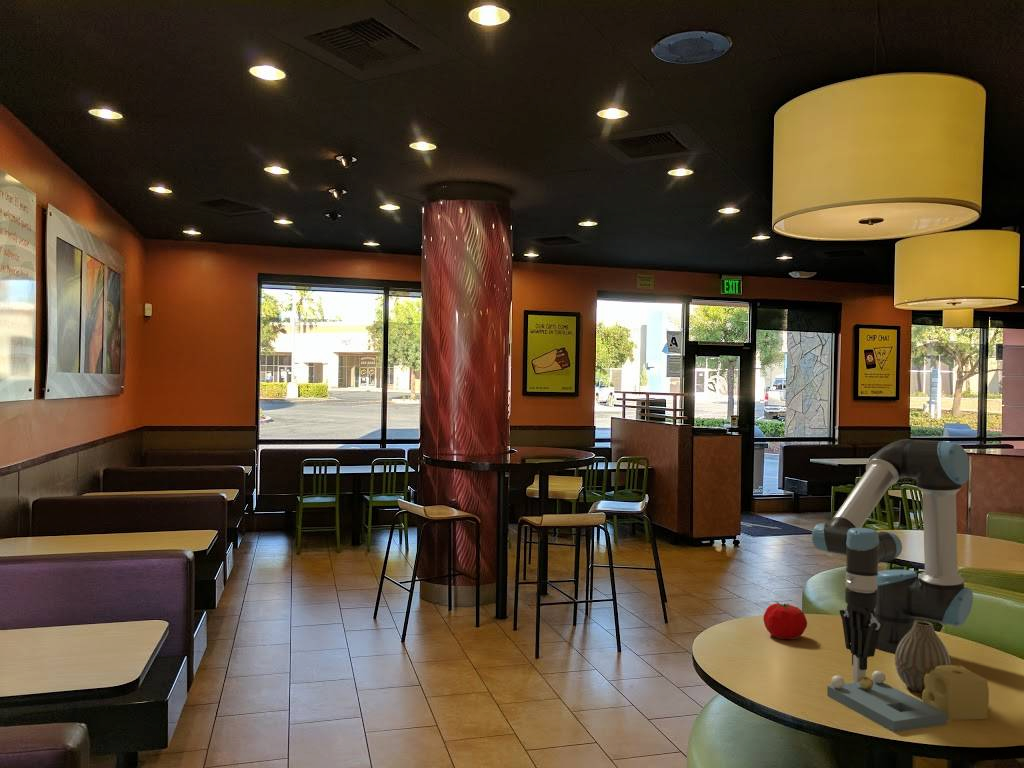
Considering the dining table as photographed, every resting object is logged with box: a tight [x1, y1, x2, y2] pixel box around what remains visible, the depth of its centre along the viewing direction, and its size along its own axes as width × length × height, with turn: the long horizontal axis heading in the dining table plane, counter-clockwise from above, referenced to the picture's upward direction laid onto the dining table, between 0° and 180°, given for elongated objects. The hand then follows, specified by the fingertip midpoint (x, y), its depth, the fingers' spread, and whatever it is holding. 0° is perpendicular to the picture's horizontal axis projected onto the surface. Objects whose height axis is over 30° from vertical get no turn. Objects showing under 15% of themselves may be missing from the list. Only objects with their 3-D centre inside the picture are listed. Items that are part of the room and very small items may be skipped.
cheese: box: [921, 664, 990, 721], centre depth 194 cm, size 10×11×10 cm
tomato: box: [762, 600, 808, 640], centre depth 250 cm, size 13×12×11 cm
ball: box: [860, 676, 873, 690], centre depth 201 cm, size 3×3×3 cm
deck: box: [826, 679, 948, 733], centre depth 195 cm, size 16×22×2 cm
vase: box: [894, 620, 952, 694], centre depth 209 cm, size 13×13×18 cm
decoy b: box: [830, 674, 846, 689], centre depth 202 cm, size 3×3×3 cm
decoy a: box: [871, 670, 886, 684], centre depth 206 cm, size 3×3×3 cm
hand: (859, 680), depth 203 cm, fingers closed
